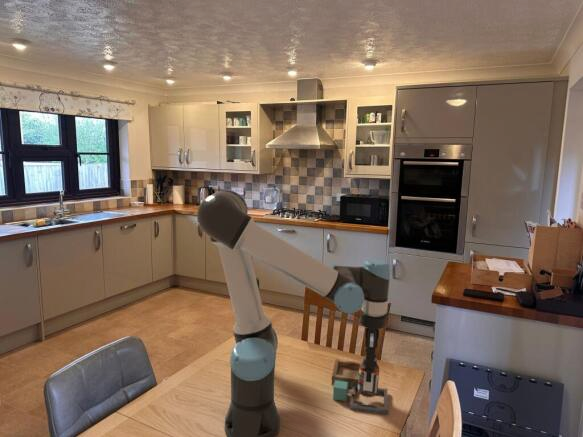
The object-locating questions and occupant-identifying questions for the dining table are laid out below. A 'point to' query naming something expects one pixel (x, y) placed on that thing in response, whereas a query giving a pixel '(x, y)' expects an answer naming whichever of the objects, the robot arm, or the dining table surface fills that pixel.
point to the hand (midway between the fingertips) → (367, 384)
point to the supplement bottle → (375, 379)
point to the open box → (346, 372)
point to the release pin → (341, 390)
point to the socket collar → (368, 407)
